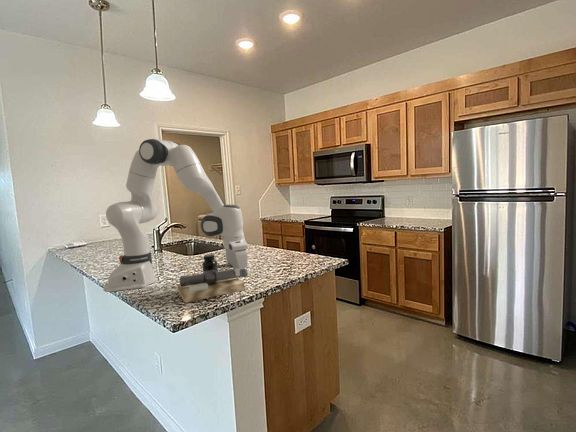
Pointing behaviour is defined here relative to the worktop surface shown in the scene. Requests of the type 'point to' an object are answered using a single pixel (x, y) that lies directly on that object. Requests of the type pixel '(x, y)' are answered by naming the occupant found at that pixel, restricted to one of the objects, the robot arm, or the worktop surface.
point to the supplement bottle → (209, 263)
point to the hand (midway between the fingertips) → (237, 275)
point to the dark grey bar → (210, 277)
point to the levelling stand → (210, 289)
